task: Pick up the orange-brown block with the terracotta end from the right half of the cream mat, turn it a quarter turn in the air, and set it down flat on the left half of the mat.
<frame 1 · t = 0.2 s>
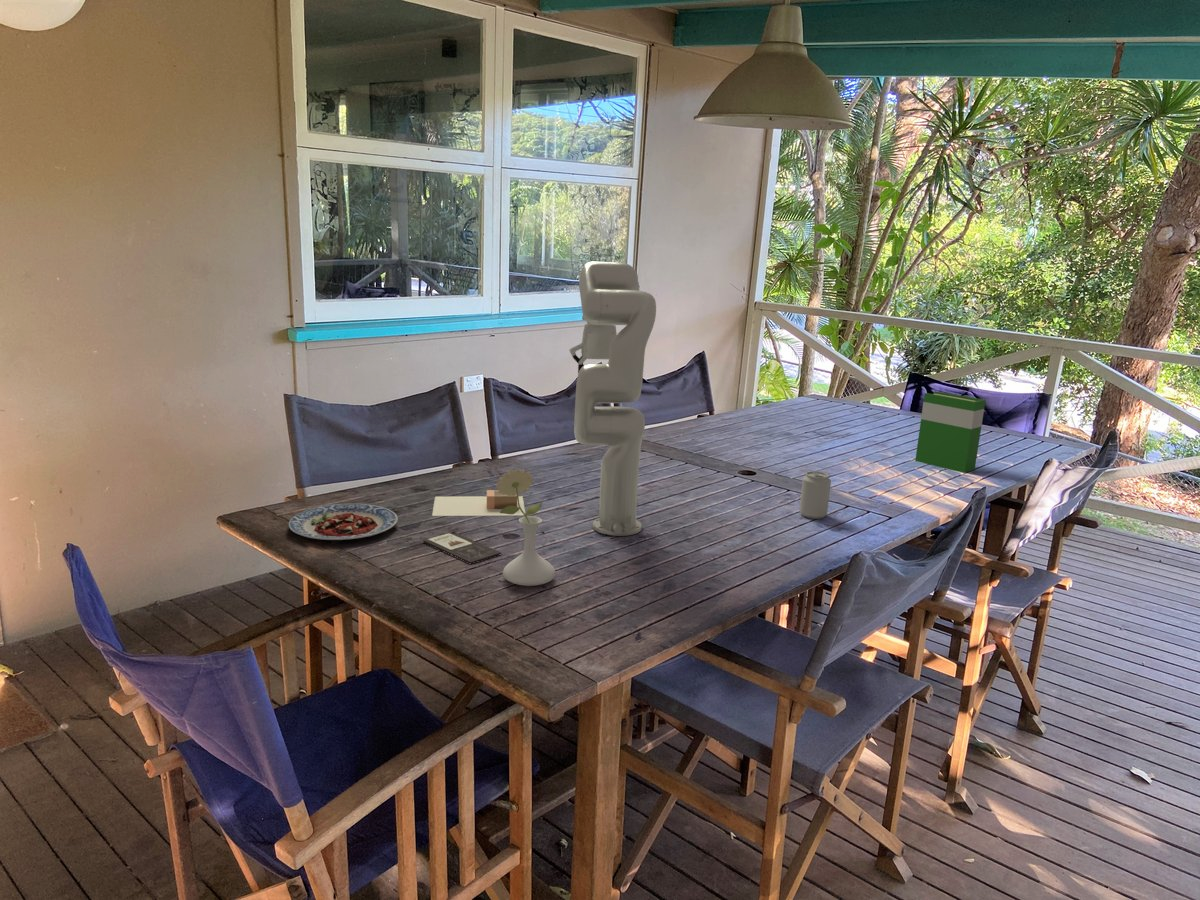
hand: (597, 377, 255), 31 cm above the table, tool pointing down, fingers open, 9 cm apart
orange-brown block: (501, 505, 231), point 1 cm above the table, touching mat
flower in vase: (525, 580, 186), on the table
ceramic plate: (344, 529, 212), on the table
green cereal box: (944, 465, 294), on the table
mat: (479, 508, 230), on the table
can: (812, 516, 236), on the table
chocolate bar: (461, 551, 202), on the table
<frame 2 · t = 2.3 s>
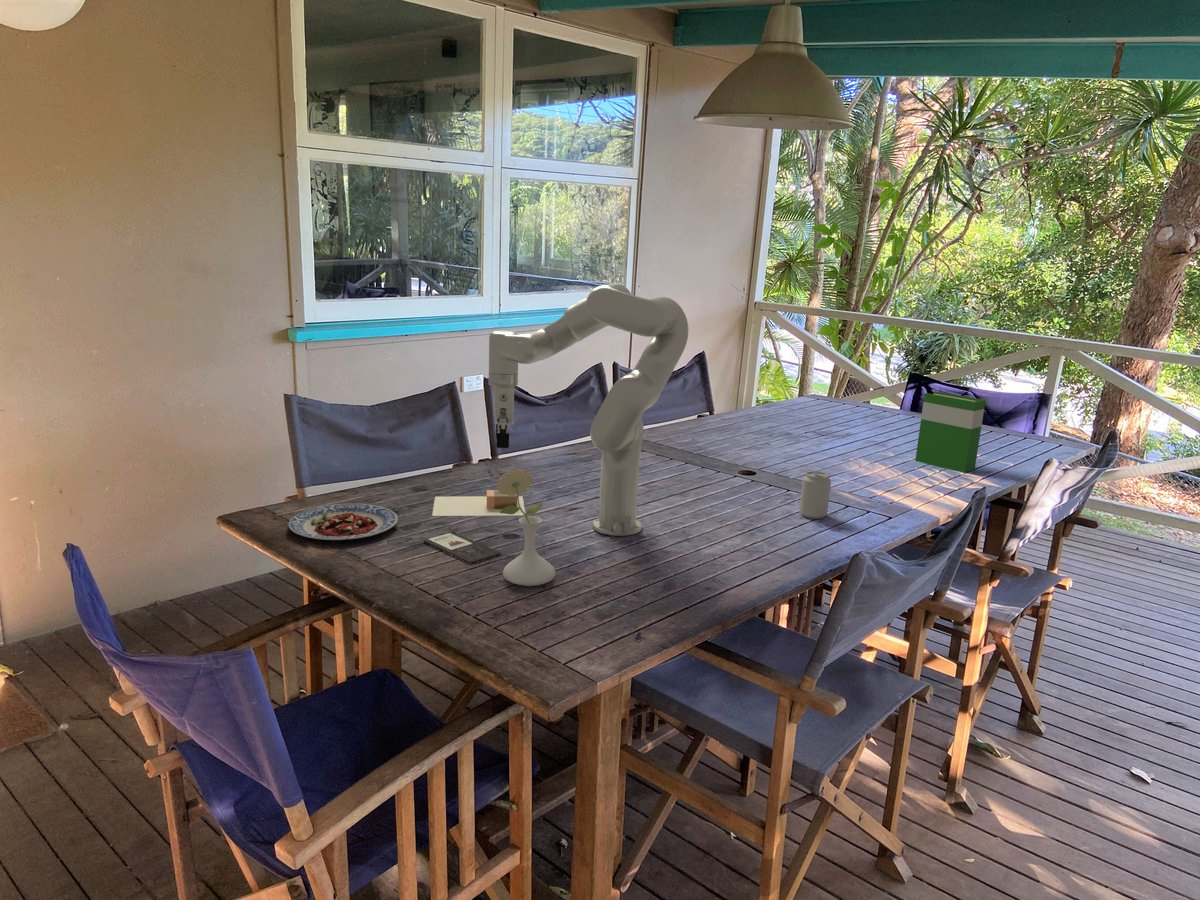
hand: (502, 442, 226), 18 cm above the table, tool pointing down, fingers open, 9 cm apart
nothing on the table moved.
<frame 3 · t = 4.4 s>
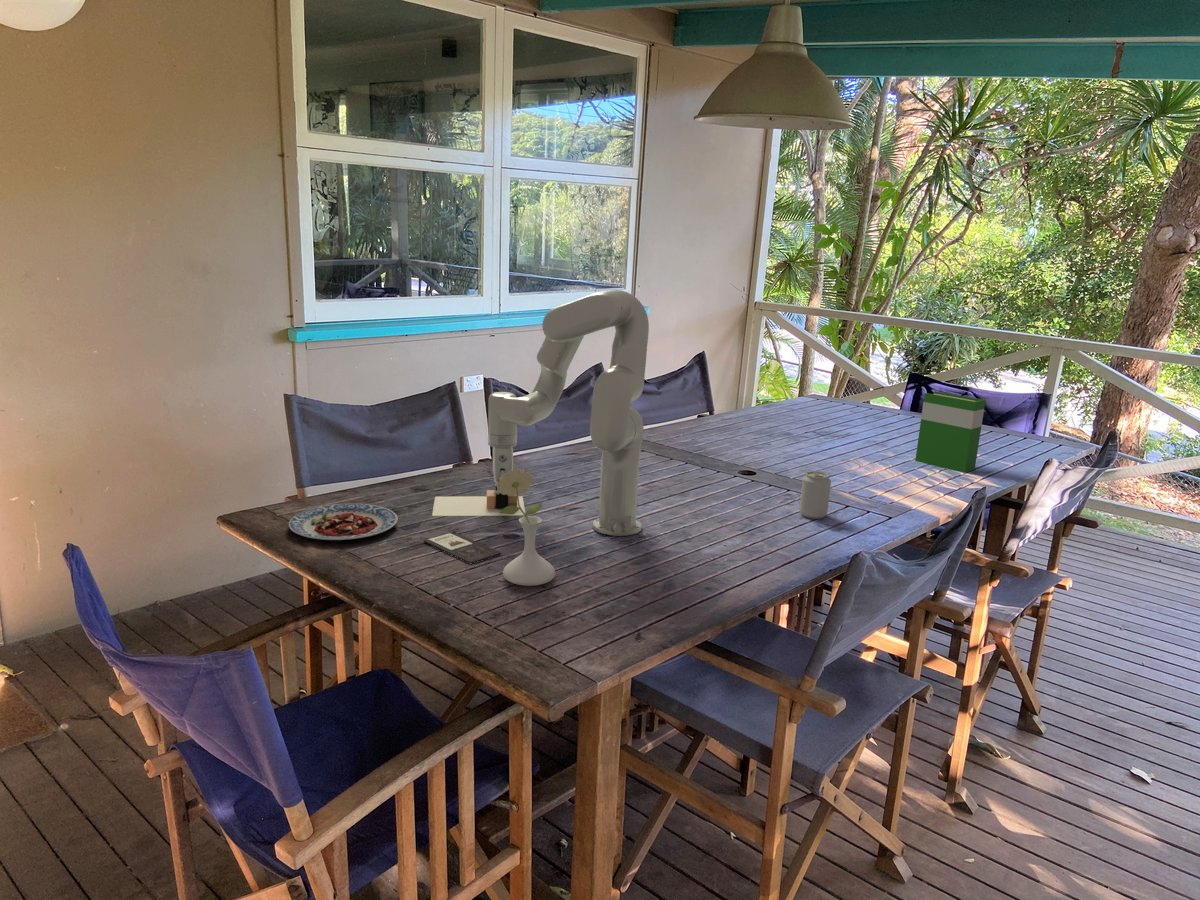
hand: (501, 503, 231), 1 cm above the table, tool pointing down, fingers closed on orange-brown block, 5 cm apart
orange-brown block: (501, 505, 231), point 1 cm above the table, touching gripper, mat
everything else where it was.
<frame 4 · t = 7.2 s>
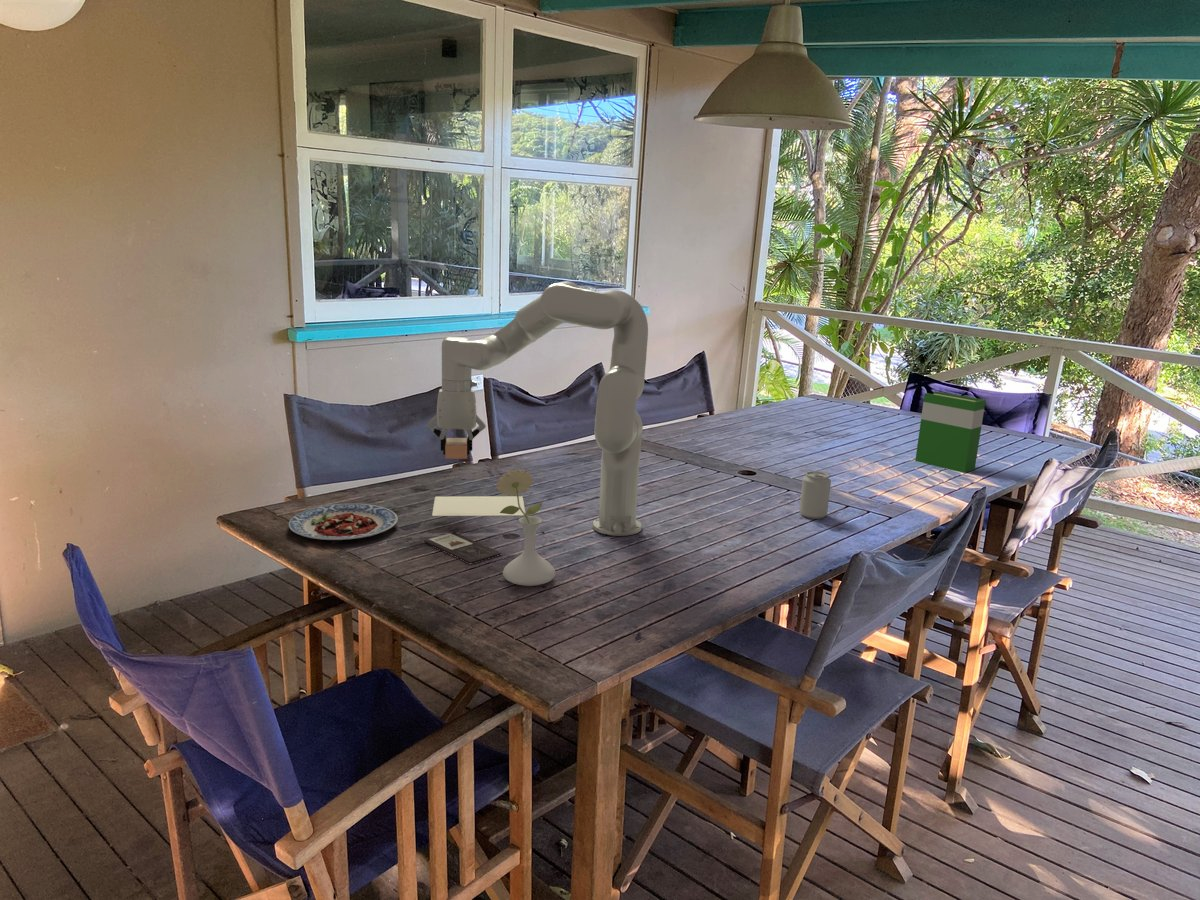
hand: (456, 452, 225), 15 cm above the table, tool pointing down, fingers closed on orange-brown block, 5 cm apart
orange-brown block: (456, 454, 226), point 15 cm above the table, touching gripper
everything else where it was.
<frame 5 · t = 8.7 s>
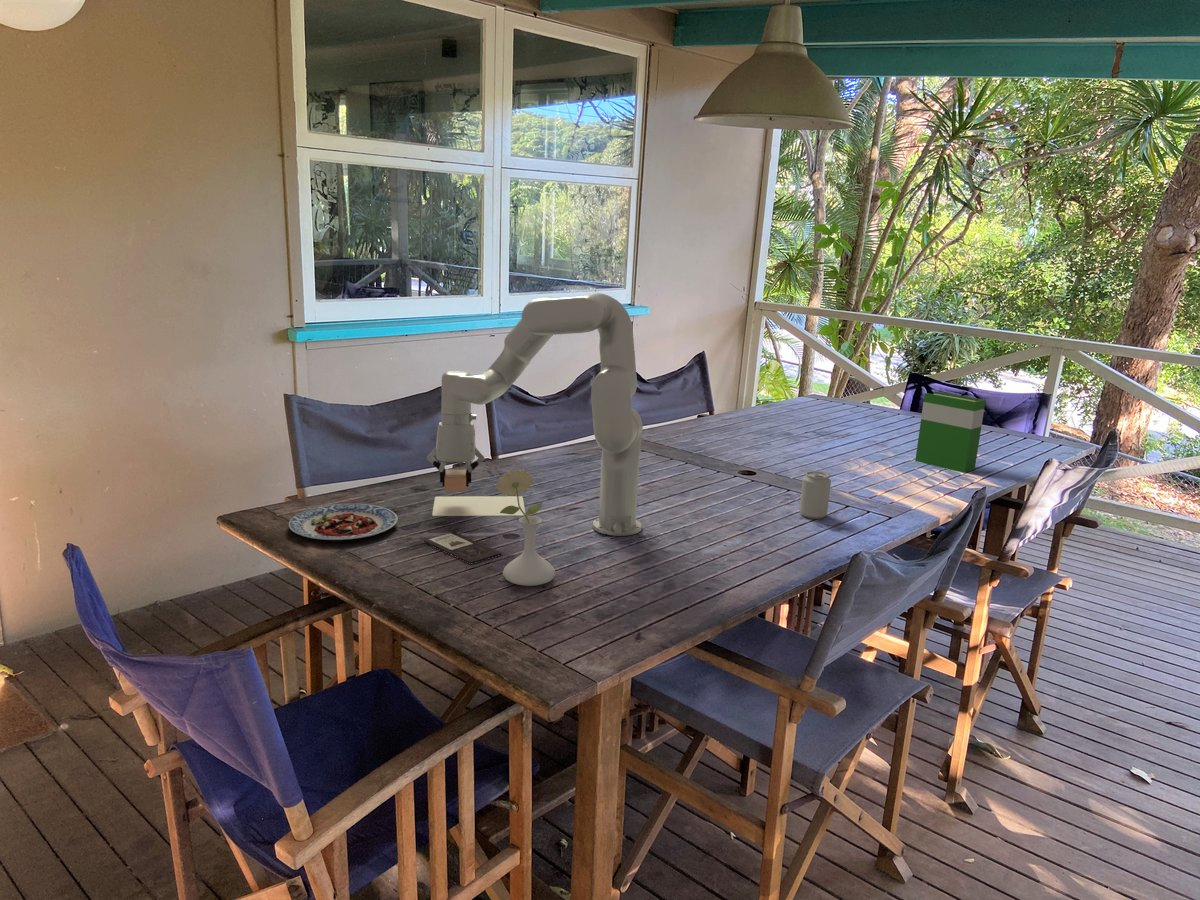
hand: (455, 484, 228), 7 cm above the table, tool pointing down, fingers closed on orange-brown block, 5 cm apart
orange-brown block: (455, 486, 228), point 6 cm above the table, touching gripper
everything else where it was.
when the fingers open (3 cm above the table, at t = 9.9 s): orange-brown block drops 1 cm, resting on mat.
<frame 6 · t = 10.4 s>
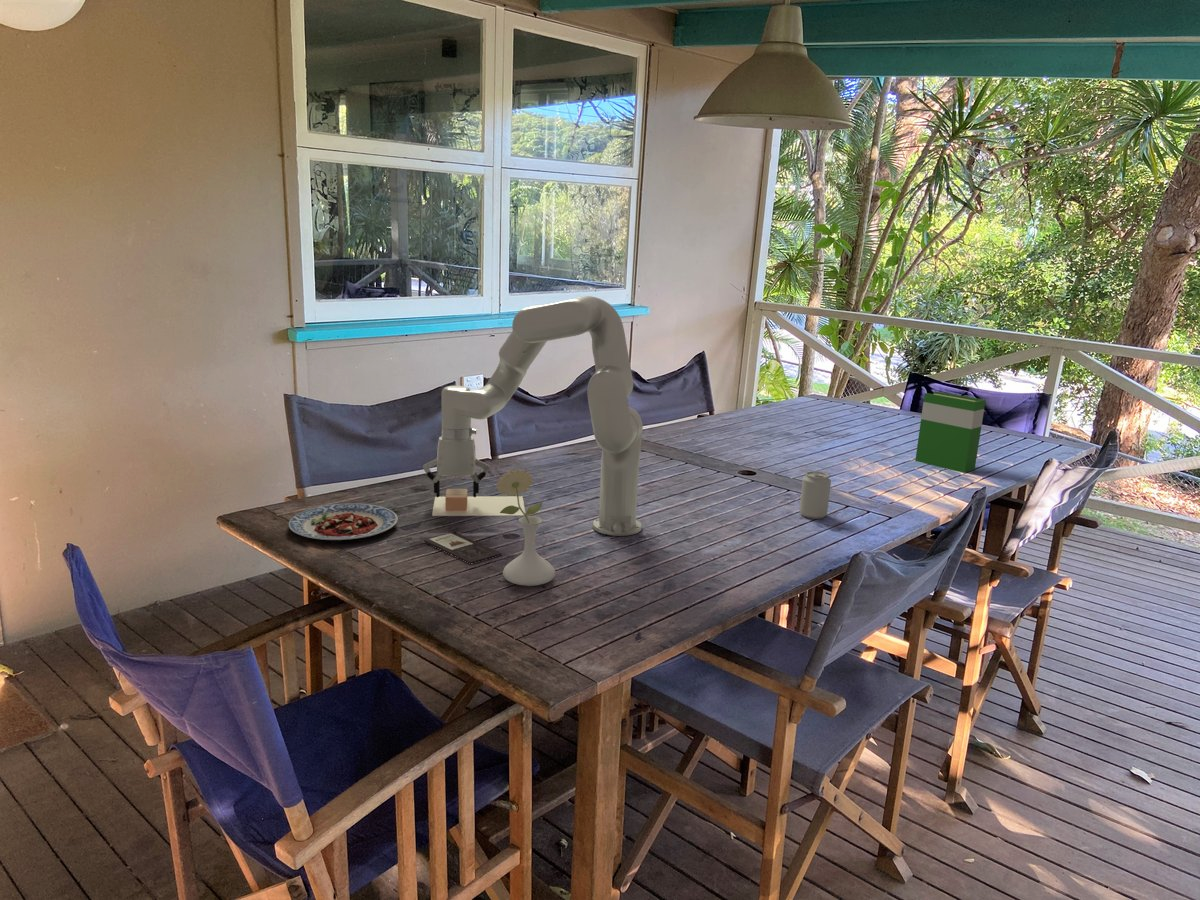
hand: (456, 495, 228), 4 cm above the table, tool pointing down, fingers open, 9 cm apart
orange-brown block: (456, 505, 229), point 1 cm above the table, touching mat
everything else where it was.
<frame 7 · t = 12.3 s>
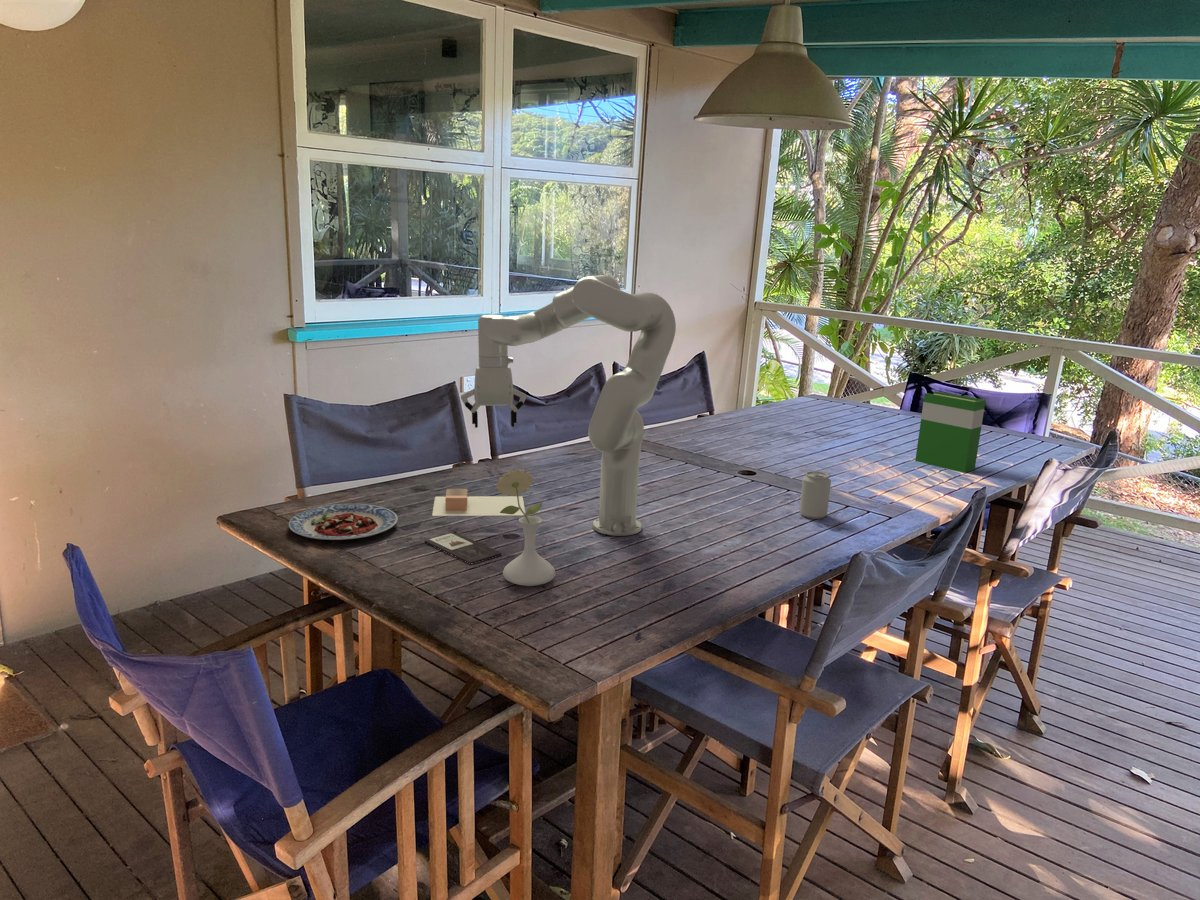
hand: (494, 426, 229), 22 cm above the table, tool pointing down, fingers open, 9 cm apart
nothing on the table moved.
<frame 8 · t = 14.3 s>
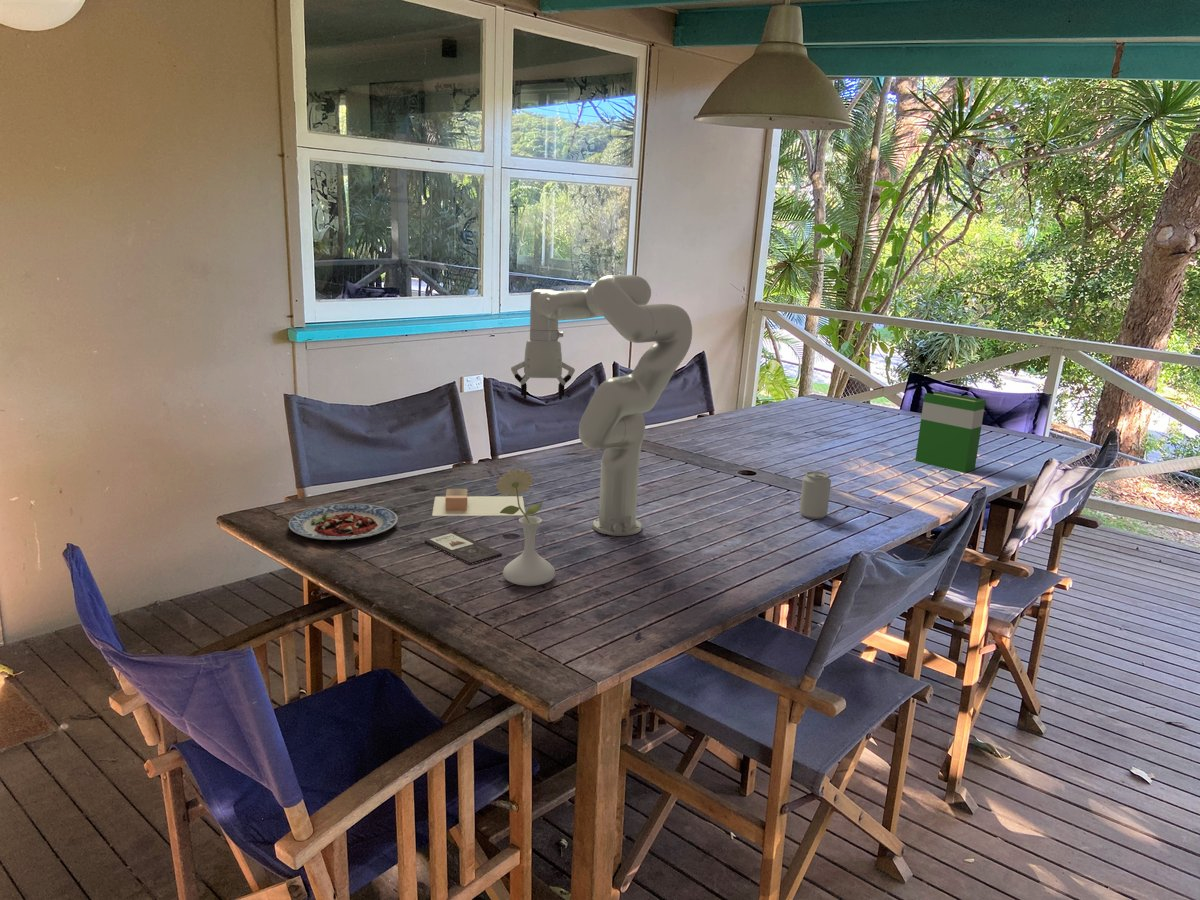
hand: (542, 398, 235), 28 cm above the table, tool pointing down, fingers open, 9 cm apart
nothing on the table moved.
at the end: orange-brown block inside the target area (0.0 cm from its centre), point 0.8 cm above the table; orange-brown block touching mat; orange-brown block tilted 0° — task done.
